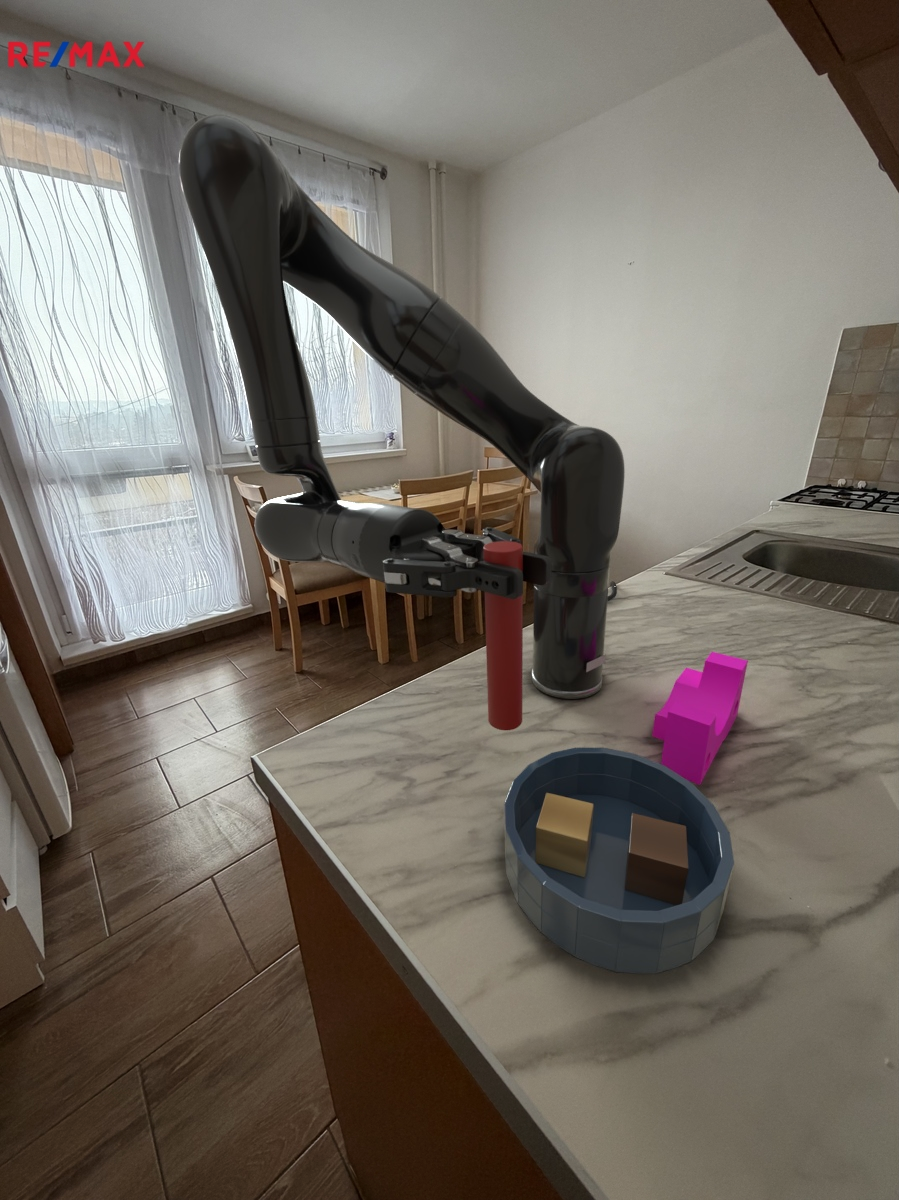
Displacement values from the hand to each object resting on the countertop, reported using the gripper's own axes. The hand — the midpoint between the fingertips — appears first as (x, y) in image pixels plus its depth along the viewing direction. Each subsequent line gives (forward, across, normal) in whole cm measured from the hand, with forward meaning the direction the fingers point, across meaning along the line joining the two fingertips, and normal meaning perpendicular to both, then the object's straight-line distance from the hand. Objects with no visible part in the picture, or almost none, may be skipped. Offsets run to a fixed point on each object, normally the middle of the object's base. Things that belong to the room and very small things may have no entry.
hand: (534, 577), depth 36 cm
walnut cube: (+11, +2, +23) cm, 26 cm away
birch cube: (+4, -1, +23) cm, 24 cm away
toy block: (+6, +21, +24) cm, 33 cm away
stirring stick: (-3, 0, +14) cm, 14 cm away
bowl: (+7, 0, +24) cm, 25 cm away
